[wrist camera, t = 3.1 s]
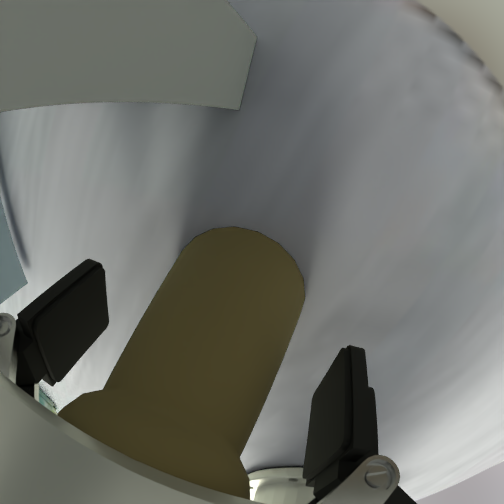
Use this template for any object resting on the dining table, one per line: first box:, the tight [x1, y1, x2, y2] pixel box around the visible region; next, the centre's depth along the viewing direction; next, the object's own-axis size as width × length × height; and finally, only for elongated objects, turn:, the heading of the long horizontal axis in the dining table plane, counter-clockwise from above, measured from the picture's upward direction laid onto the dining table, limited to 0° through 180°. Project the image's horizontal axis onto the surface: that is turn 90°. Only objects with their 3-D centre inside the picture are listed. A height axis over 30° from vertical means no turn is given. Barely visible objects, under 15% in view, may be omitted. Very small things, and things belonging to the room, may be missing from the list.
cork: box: [57, 227, 305, 500], centre depth 8 cm, size 6×6×11 cm
